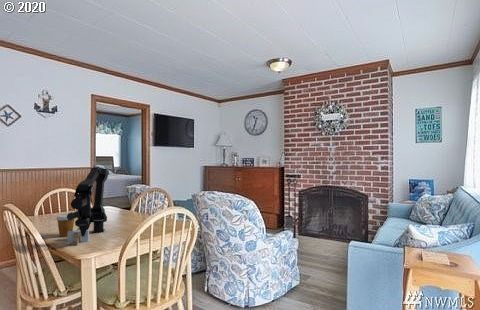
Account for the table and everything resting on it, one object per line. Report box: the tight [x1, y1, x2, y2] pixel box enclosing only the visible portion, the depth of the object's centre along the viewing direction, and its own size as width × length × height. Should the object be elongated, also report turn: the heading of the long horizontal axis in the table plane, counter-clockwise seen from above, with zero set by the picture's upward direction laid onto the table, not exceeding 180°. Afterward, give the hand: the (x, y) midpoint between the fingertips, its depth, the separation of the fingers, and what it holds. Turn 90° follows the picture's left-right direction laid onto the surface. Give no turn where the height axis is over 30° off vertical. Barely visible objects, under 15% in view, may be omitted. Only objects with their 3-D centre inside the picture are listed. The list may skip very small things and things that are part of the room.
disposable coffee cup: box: [55, 213, 75, 238], centre depth 170 cm, size 10×10×12 cm
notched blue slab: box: [67, 229, 90, 244], centre depth 158 cm, size 2×10×6 cm, turn 109°
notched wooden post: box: [72, 227, 82, 247], centre depth 158 cm, size 14×2×6 cm, turn 19°
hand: (84, 234), depth 159 cm, fingers open, 9 cm apart
